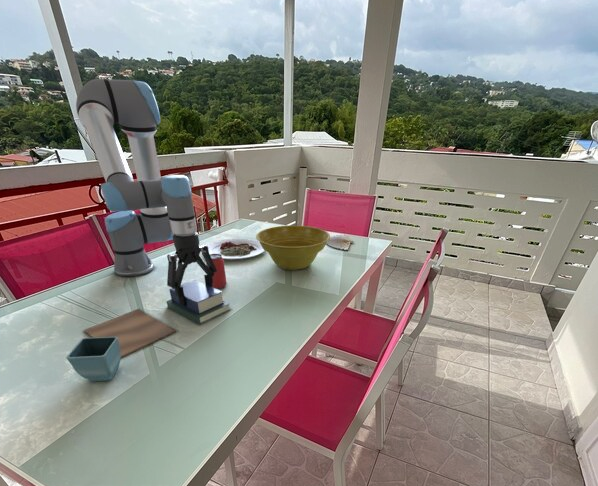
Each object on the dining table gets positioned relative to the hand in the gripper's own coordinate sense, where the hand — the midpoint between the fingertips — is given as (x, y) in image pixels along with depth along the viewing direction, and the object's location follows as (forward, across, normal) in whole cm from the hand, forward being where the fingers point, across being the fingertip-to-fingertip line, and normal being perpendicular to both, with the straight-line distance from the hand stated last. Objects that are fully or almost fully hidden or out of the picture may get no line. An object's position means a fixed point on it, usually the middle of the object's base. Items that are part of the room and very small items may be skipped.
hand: (197, 298), depth 113 cm
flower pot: (+4, -38, -11) cm, 40 cm away
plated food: (+4, +49, +35) cm, 60 cm away
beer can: (+4, +17, +10) cm, 20 cm away
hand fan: (+4, +96, +4) cm, 96 cm away
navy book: (+1, 0, 0) cm, 1 cm away
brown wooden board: (+4, -23, +4) cm, 24 cm away
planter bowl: (+4, +54, +2) cm, 54 cm away
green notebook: (+4, 0, 0) cm, 4 cm away
